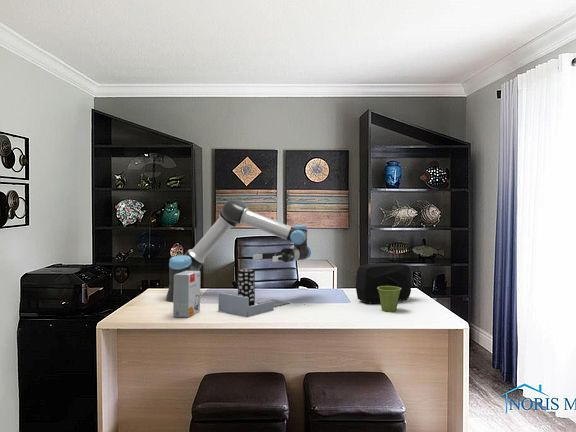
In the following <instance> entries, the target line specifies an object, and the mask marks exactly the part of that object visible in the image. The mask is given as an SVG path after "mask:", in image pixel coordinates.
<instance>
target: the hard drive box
mask: <svg viewBox="0 0 576 432" xmlns="http://www.w3.org/2000/svg"><path fill="white" fill-rule="evenodd" d="M172 304H173V306H172V307H173V308H172V309H173V311H172V312H173V313H172V316H173V318H175V317H176V318H190V317H192V316H193V315H195V314H197V313H199V312H201V271H200V270H199V271H184V272H181V273H178V274H175V275H174V296H173V302H172Z"/></svg>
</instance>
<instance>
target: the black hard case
mask: <svg viewBox="0 0 576 432" xmlns="http://www.w3.org/2000/svg"><path fill="white" fill-rule="evenodd" d="M380 286H395V287H400V288H401V290H400V294H399V298H398V302H401V301H406V300H408V299H409V298H410V295H411V294H412V293H411V292H412V273H411V267H410V266H408V265H407V264H403V263H399V262H398V263H397V262H384V263H371V264H368V263H367V264H363V265H359V266H358V267H357V270H356V276H355V292H356V295H357V296H356V297H357V300H359V301H360V302H363V303H366V304H371V305H372V304H381V302H380V295H379V291H378V289H377V287H380Z"/></svg>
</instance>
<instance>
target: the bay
mask: <svg viewBox="0 0 576 432" xmlns="http://www.w3.org/2000/svg"><path fill="white" fill-rule="evenodd" d="M268 301H269V300H268ZM264 302H265V301H264ZM274 310H275V308H274V301H269V302H265V303H261V304H255V305H252V306H249V297H243V296H238V294H236V295H235V294H232V293H225V292H218V312H220V313H221V312H222V313H225V314H230V315H236V316H241V317H245V318H249V317H252V316H253V317H254V316H257V315H260V314H264V313H269V312H273V311H274Z"/></svg>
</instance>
